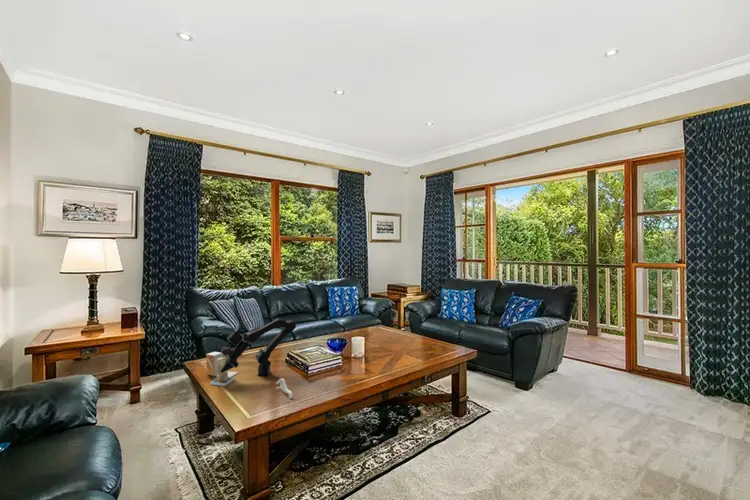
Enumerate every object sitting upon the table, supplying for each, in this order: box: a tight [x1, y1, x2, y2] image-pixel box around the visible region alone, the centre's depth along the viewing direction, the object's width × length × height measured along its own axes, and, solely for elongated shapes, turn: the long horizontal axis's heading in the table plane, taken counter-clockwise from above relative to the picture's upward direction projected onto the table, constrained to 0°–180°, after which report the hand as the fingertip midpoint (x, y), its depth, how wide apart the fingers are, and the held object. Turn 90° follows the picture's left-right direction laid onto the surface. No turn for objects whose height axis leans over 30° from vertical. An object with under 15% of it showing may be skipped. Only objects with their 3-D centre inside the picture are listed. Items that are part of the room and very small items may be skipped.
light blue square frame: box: [209, 376, 235, 387], centre depth 211 cm, size 9×9×2 cm
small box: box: [205, 351, 224, 377], centre depth 224 cm, size 8×6×13 cm
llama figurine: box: [275, 378, 293, 399], centre depth 197 cm, size 2×11×18 cm
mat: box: [228, 370, 239, 378], centre depth 223 cm, size 9×9×1 cm
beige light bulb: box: [216, 357, 229, 383], centre depth 211 cm, size 6×6×14 cm
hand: (219, 370), depth 210 cm, fingers closed on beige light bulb, 6 cm apart
